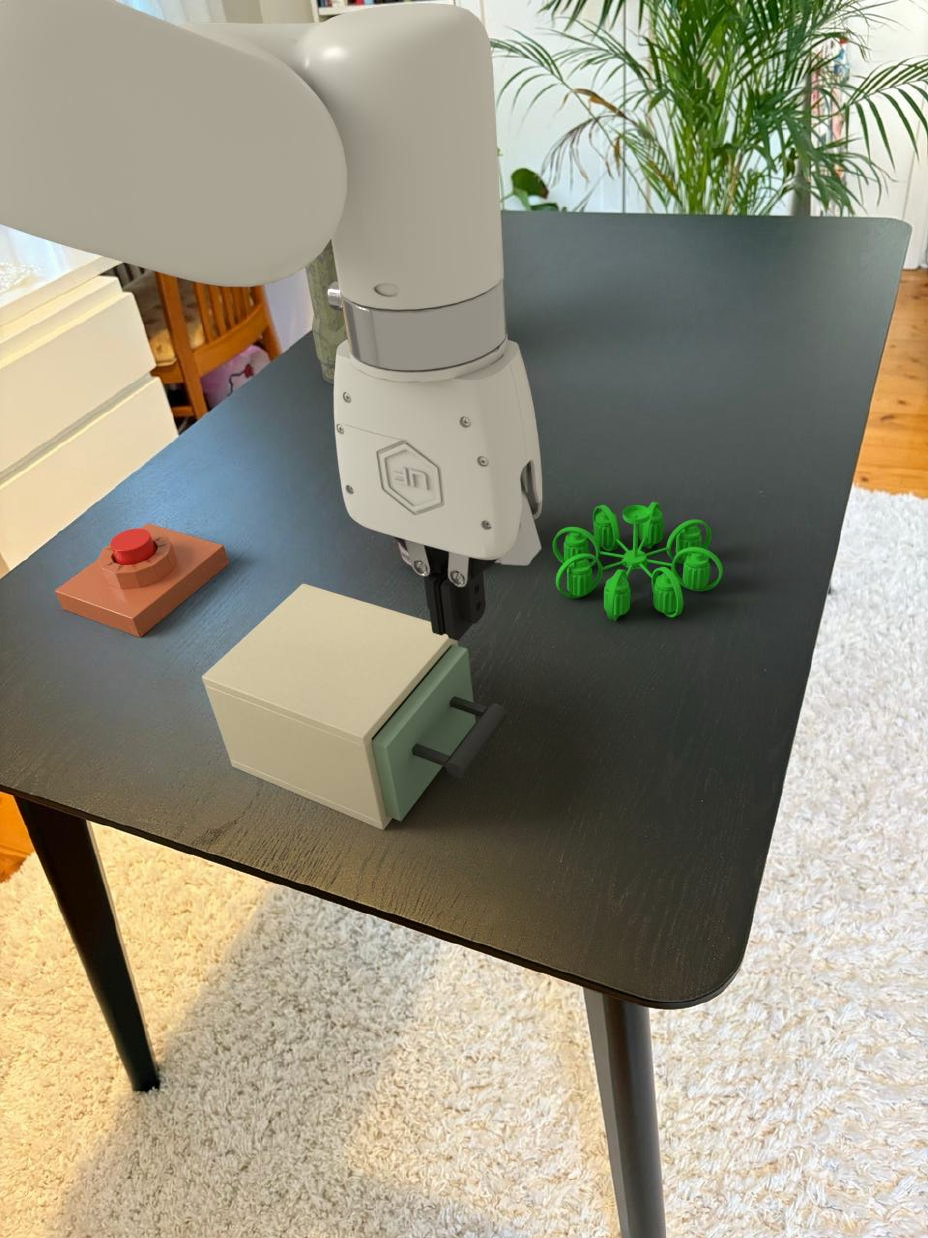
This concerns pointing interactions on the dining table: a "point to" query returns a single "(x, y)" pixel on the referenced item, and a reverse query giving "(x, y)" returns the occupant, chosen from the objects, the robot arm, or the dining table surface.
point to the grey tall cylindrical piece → (325, 311)
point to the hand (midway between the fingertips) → (458, 622)
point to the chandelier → (636, 559)
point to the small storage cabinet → (320, 695)
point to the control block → (143, 582)
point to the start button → (132, 546)
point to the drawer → (432, 733)
